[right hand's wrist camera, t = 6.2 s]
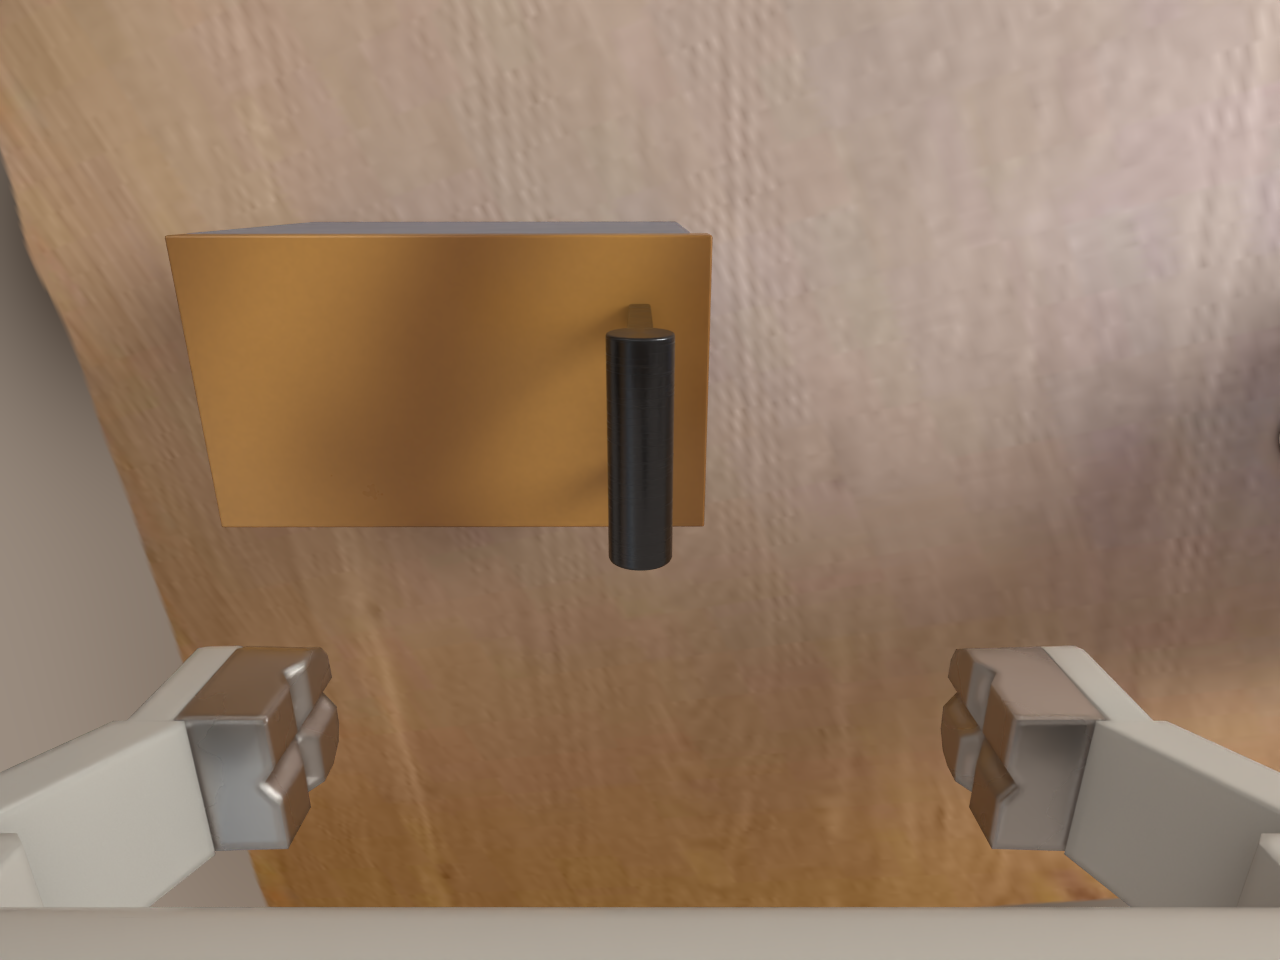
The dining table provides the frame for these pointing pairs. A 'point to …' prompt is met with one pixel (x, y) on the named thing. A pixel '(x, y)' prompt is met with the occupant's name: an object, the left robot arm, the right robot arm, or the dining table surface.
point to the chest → (459, 228)
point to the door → (453, 379)
